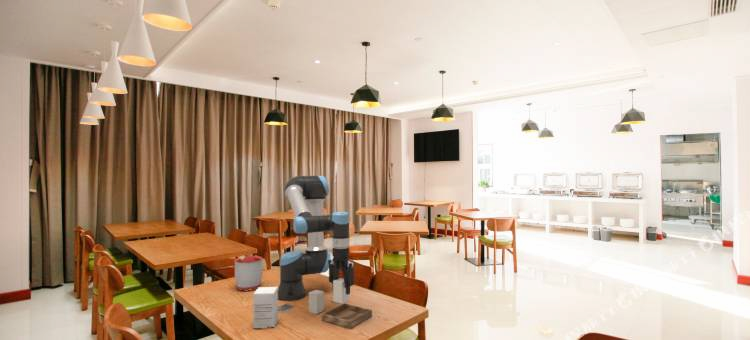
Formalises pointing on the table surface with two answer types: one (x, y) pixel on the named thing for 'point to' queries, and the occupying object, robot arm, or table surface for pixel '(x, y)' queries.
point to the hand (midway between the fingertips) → (341, 300)
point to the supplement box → (265, 307)
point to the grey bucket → (248, 272)
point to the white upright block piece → (316, 301)
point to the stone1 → (338, 290)
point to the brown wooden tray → (346, 315)
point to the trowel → (285, 307)
